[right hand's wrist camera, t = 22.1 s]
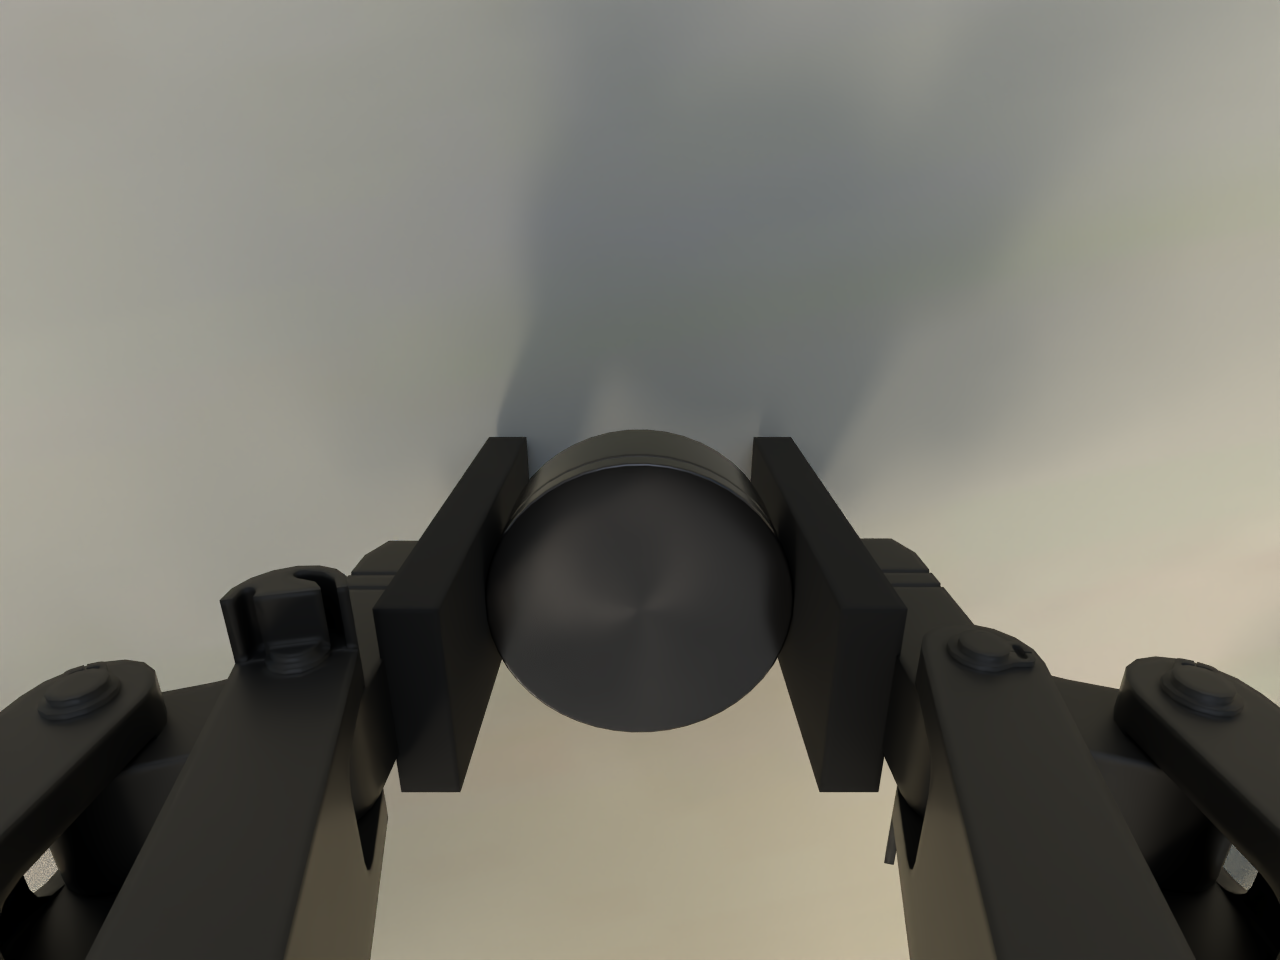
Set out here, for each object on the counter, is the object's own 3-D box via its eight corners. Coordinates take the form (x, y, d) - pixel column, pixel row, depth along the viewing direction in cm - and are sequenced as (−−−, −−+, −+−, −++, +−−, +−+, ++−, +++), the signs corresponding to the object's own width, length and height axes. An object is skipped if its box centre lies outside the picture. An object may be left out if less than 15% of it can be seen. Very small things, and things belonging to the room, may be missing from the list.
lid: (675, 708, 13) (680, 776, 11) (457, 591, 12) (429, 648, 10) (828, 521, 12) (859, 568, 10) (595, 373, 11) (587, 400, 9)
